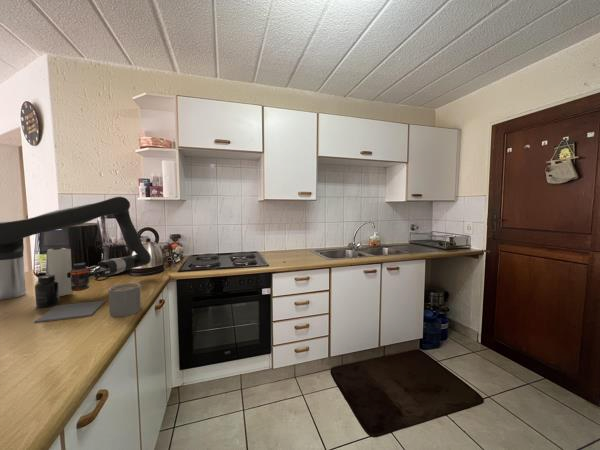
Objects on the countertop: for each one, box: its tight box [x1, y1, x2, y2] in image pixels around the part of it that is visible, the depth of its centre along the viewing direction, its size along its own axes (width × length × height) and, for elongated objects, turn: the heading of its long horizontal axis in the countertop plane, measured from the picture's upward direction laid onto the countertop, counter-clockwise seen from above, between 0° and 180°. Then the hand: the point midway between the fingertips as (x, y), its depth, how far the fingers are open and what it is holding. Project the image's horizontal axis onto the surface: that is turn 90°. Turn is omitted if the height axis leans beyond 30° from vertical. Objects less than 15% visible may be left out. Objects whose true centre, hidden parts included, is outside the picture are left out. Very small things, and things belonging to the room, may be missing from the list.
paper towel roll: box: [46, 247, 74, 297], centre depth 110 cm, size 7×6×21 cm
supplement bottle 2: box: [71, 262, 90, 292], centre depth 106 cm, size 6×6×11 cm
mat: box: [34, 300, 105, 324], centre depth 95 cm, size 16×14×1 cm
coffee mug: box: [108, 282, 142, 318], centre depth 98 cm, size 13×10×10 cm
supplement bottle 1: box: [34, 274, 61, 309], centre depth 100 cm, size 7×7×12 cm
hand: (73, 276), depth 104 cm, fingers closed on supplement bottle 2, 6 cm apart
